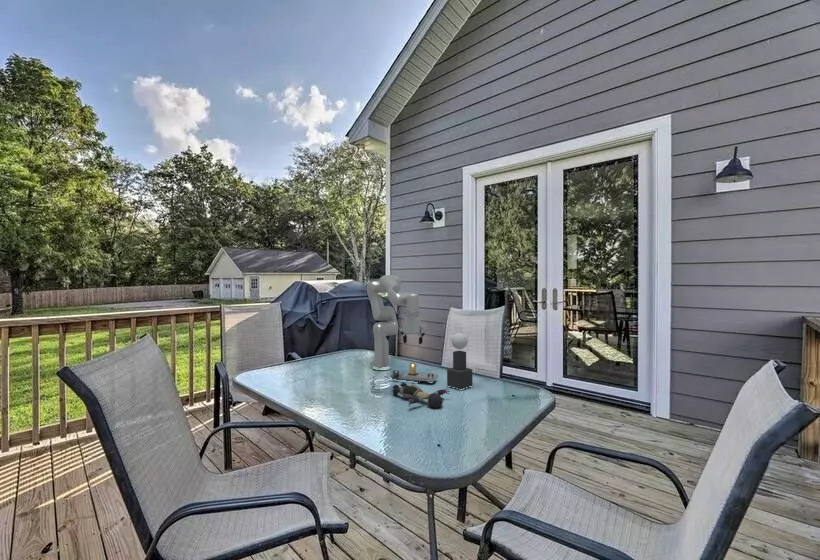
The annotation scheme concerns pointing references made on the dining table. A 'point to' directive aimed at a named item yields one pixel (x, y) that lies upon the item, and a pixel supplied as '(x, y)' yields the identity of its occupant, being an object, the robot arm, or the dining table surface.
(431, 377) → the grey flat block
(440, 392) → the toy
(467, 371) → the sculpture
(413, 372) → the pin
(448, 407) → the dining table surface
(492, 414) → the dining table surface
